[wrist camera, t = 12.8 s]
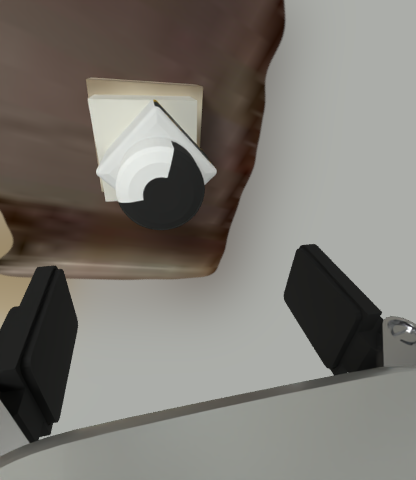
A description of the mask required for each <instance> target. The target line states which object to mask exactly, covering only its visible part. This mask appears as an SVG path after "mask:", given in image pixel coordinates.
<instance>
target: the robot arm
mask: <svg viewBox="0 0 416 480" xmlns="http://www.w3.org/2000/svg"><path fill="white" fill-rule="evenodd" d="M284 300H285V302H286V304H287V306H288V307H289V309H290V310H291V312H292V314H293V315H294V317H295V318H296V320H297V322H298V323H299V325H300V327H301V328H302V330H303V331H304V333H305V334H306V336H307V338H308V339H309V341H310V343H311V344H312V346H313V347H314V349H315V350H316V352H317V354H318V355H319V357H320V358H321V360H322V362H323V363H324V365H325V366H326V367H327V368H329V369H330V370H331V371H332V373H333V374H334V376H330V377H324V378H320V379H314V380H309V381H304V382H300V383H294V384H289V385H285V386H279V387H274V388H270V389H265V390H259V391H255V392H250V393H245V394H240V395H235V396H230V397H225V398H221V399H215V400H211V401H206V402H201V403H196V404H191V405H186V406H182V407H177V408H173V409H167V410H163V411H158V412H153V413H148V414H144V415H139V416H134V417H129V418H125V419H120V420H116V421H111V422H107V423H103V424H99V425H94V426H89V427H85V428H81V429H76V430H72V431H69V432H65V433H62V434H58V435H55V436H50V437H47V438H44V439H41V440H39V437H42V436H47V435H50V434H51V429H52V425H53V423H56V422H58V421H59V418H60V414H61V409H62V404H63V399H64V394H65V389H66V384H67V379H68V374H69V369H70V364H71V359H72V354H73V349H74V344H75V339H76V334H77V328H78V321H77V317H76V313H75V310H74V306H73V302H72V299H71V295H70V292H69V289H68V285H67V281H66V278H65V274H64V271H63V269H58V268H57V267H56V266H44V267H38V268H37V269H36V270H35V273H34V275H33V277H32V280H31V282H30V284H29V286H28V288H27V290H26V292H25V295H24V297H23V299H22V302H21V304H20V306H18V307H13V308H12V309H10V311H9V313H8V314H7V317H6V319H5V321H4V323H3V325H2V327H1V329H0V480H416V324H414V323H413V322H411V321H409V320H406V319H404V318H400V317H394V316H390V317H386V319H384V320H383V319H382V318H381V317H380V315H381V314H382V312H381V311H380V310H379V309H378V308H377V307H376V306H375V305H374V304H373V302H371V300H370V299H369V298H368V297H367V296H366V295H365V294H364V293H363V292H362V291H361V290H360V289H359V288H358V287H357V286H356V285H355V284H354V283H353V282H352V281H351V280H350V279H349V278H348V277H347V276H346V275H345V274H344V273H343V272H342V271H341V270H340V269H339V268H338V267H337V266H336V265H335V264H334V263H333V262H332V261H331V259H329V257H328V256H327V255H326V254H325V253H324V252H323V251H321V249H320V248H319V247H318V246H317V245H315V244H309V245H302V246H300V248H299V249H297V250H296V253H295V257H294V260H293V264H292V267H291V271H290V274H289V278H288V281H287V285H286V288H285V292H284Z"/></svg>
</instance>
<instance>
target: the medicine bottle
mask: <svg viewBox="0 0 416 480" xmlns="http://www.w3.org/2000/svg"><path fill="white" fill-rule="evenodd" d="M216 172H217V170H216V168H215V167H214V166H213V164H212V163H211V162H210V160H209V159H208V157H207V156H206V155H205V153H204V152H203V151H202V150H201V149H200V147H199V146H198V145H197V144H196V143H195V142H194V141H193V140H192V139H191V138H190V137H189V135H188V134H187V133H186V132H185V131H184V130H183V129H182V128H181V127H180V126H179V124H178V123H177V122H176V121H175V120H174V119H173V118H172V117H171V116H170V115H169V114H168V112H167V111H166V110H165V109H164V108H163V107H162V106H161V105H160V104H159V103H158V101H156V100H151V101H150V102H149V103H148V105H147V106H146V107H145V108H144V109H143V110H142V111H141V112H140V113H139V115H138V116H137V117H136V118H135V119H134V120H133V121H132V122H131V123H130V125H129V126H128V127H127V128H126V129H125V130H124V131H123V132H122V133H121V135H120V136H119V137H118V138H117V139H116V140H115V141H114V142H113V143H112V145H111V146H110V147H109V148H108V149H107V150H106V152H105V154H104V156H103V158H102V160H101V162H100V164H99V166H98V168H97V170H96V174H97V175H98V176H99V177H100V178H101V179H103V180H104V181H105V182H106V183H108V184H109V185H110V186H111V187H113V188H114V189H115V190H116V196H117V199H118V202H119V205H120V207H121V208H122V210H123V211H124V213H125V214H126V215H127V216H128V217H129V218H130V219H131V220H132V221H134V222H135V223H137V224H139V225H141V226H143V227H146V228H149V229H154V230H167V229H172V228H176V227H178V226H181V225H183V224H184V223H186V222H188V221H189V220H190V219H191V218H192V217H193V216H194V215H195V214H196V213H197V211H198V210H199V208H200V206H201V204H202V202H203V198H204V192H205V184H206V183H207V182H208V181H209V180H210V179H212V178H213V177H214V176H215V175H216Z"/></svg>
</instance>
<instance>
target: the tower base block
mask: <svg viewBox="0 0 416 480" xmlns="http://www.w3.org/2000/svg"><path fill="white" fill-rule="evenodd" d="M86 83H87V90H88V97H89V98H90V97H91V96H92V95H94V94H97V95H154V96H190V97H192V98H194V99H195V100H197V145H198V146H199V147H200V135H201V116H202V96H203V87H202V86H199V85H194V84H179V83H164V82H149V81H134V80H119V79H105V78H88V79H86ZM93 133H94V132H93ZM94 140H95V138H94ZM95 147H96V143H95ZM96 154H97V149H96ZM97 161H98V166H99V160H98V154H97ZM100 182H101V189H102V192H104V188H103V183H102V179H101V178H100Z"/></svg>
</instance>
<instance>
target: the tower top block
mask: <svg viewBox="0 0 416 480" xmlns="http://www.w3.org/2000/svg"><path fill="white" fill-rule="evenodd" d="M151 100H156V101H158V103H159V104H160V105H161V106H162V107H163V108H164V109H165V110H166V111H167V112H168V114H169V115H170V116H171V117H172V118H173V119H174V120H175V121H176V122H177V123H178V124H179V126H180V127H181V128H182V129H183V130H184V131H185V132H186V133H187V134H188V135H189V137H190V138H191V139H192V140H193V141H194V142H195V143H196V144H197V100H195V99H194V98H192V97H190V96H154V95H97V94H94V95H92V96H91V97H90V98H88V104H89V109H90V115H91V121H92V126H93V132H94V138H95V143H96V149H97V154H98V160H99V164H100V162H101V160H102V158H103V156H104V154H105V152H106V150H107V149H108V148H109V147H110V146H111V145H112V143H113V142H114V141H115V140H116V139H117V138H118V137H119V136H120V135H121V133H122V132H123V131H124V130H125V129H126V128H127V127H128V126H129V125H130V123H131V122H132V121H133V120H134V119H135V118H136V117H137V116H138V115H139V113H140V112H141V111H142V110H143V109H144V108H145V107H146V106H147V105H148V103H149V102H150V101H151ZM102 183H103V188H104V194H105V200H106V201H118V199H117V196H116V190H115V189H114V188H113V187H111V186H110V185H109V184H108V183H106V182H105V181H104V180H103V179H102Z"/></svg>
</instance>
